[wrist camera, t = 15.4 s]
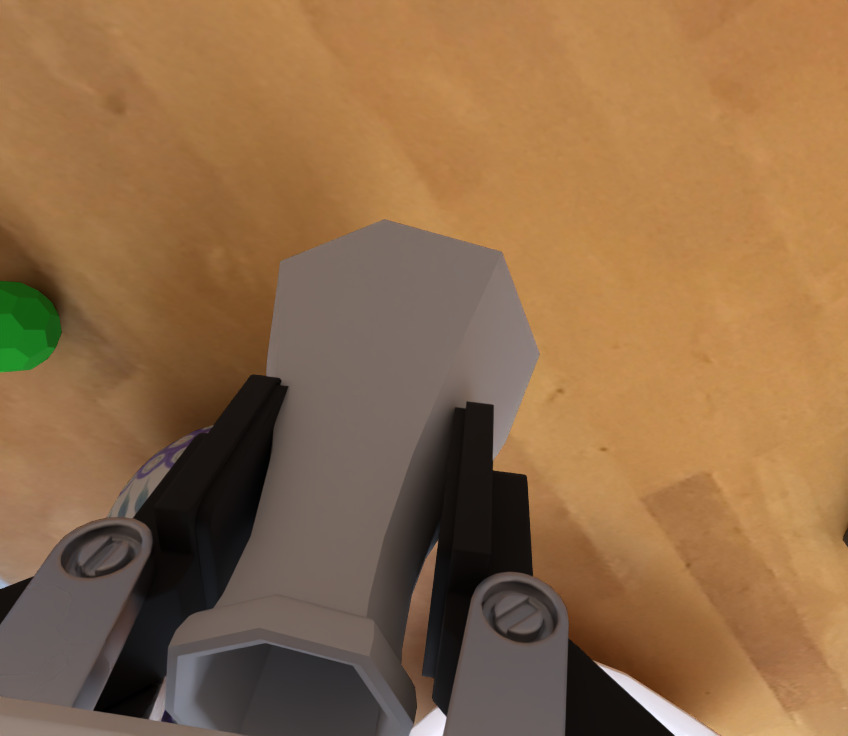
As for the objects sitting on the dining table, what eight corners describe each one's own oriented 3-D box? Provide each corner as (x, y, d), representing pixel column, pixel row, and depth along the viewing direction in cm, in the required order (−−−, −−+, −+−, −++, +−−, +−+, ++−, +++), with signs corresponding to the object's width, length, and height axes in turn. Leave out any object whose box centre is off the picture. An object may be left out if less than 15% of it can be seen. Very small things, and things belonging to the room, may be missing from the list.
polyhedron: (85, 295, 35) (29, 329, 30) (70, 362, 37) (16, 402, 33) (-1, 254, 34) (-71, 284, 30) (-12, 325, 36) (-78, 362, 32)
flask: (294, 461, 18) (107, 845, 10) (241, 223, 15) (-118, 482, 6) (538, 462, 17) (575, 890, 9) (540, 208, 14) (607, 488, 5)
